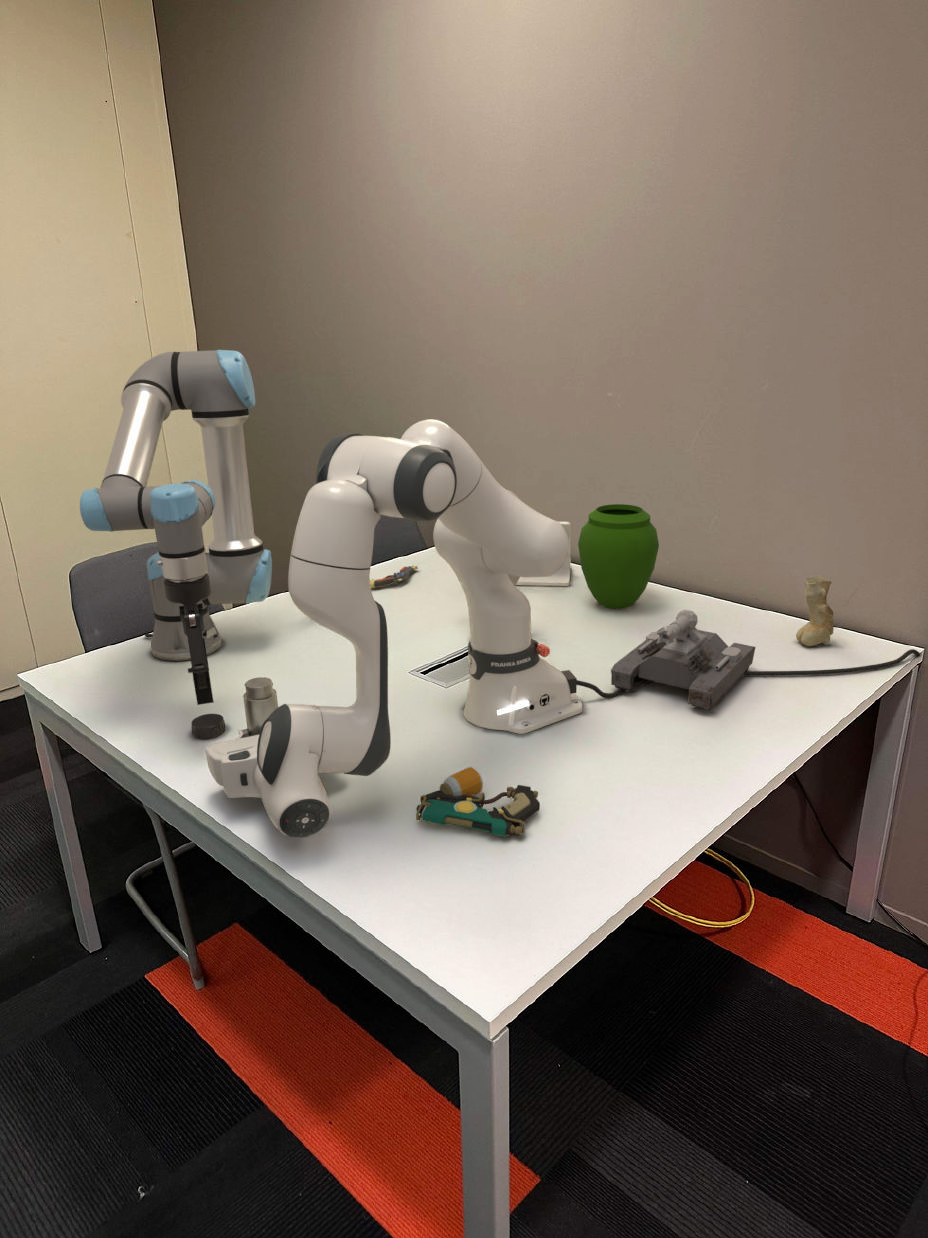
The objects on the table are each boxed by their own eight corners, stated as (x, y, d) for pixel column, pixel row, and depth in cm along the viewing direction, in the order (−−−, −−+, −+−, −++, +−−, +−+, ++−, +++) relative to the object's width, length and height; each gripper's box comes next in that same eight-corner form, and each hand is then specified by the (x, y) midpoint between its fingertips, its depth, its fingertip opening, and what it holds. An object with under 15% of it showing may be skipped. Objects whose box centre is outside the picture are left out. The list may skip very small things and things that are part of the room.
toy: (661, 649, 187) (665, 584, 181) (753, 669, 176) (760, 600, 170) (609, 692, 167) (612, 620, 162) (708, 717, 156) (715, 641, 151)
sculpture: (791, 639, 190) (799, 575, 184) (822, 637, 190) (830, 573, 185) (804, 649, 184) (812, 583, 179) (836, 647, 185) (845, 581, 180)
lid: (186, 737, 155) (184, 725, 155) (205, 722, 160) (203, 711, 160) (213, 741, 153) (211, 730, 153) (231, 726, 159) (230, 715, 158)
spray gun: (551, 809, 131) (502, 864, 119) (459, 775, 139) (405, 824, 128) (552, 786, 129) (503, 840, 118) (459, 753, 137) (405, 800, 126)
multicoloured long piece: (366, 581, 230) (401, 578, 228) (385, 565, 248) (418, 562, 246) (367, 590, 231) (403, 587, 228) (386, 574, 248) (419, 571, 246)
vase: (599, 587, 227) (601, 497, 218) (668, 600, 216) (673, 505, 208) (562, 608, 212) (564, 513, 204) (634, 623, 202) (639, 523, 193)
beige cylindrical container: (286, 756, 148) (276, 674, 142) (283, 772, 143) (273, 687, 137) (254, 759, 147) (243, 677, 142) (250, 775, 142) (239, 690, 137)
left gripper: (162, 557, 156) (180, 662, 165) (163, 603, 135) (184, 721, 143) (204, 552, 159) (220, 656, 167) (212, 596, 137) (230, 713, 145)
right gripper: (344, 734, 134) (322, 699, 146) (211, 764, 127) (199, 724, 139) (347, 769, 136) (325, 732, 148) (216, 800, 129) (204, 759, 141)
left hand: (203, 686), depth 155 cm, fingers open, 13 cm apart
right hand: (263, 729), depth 143 cm, fingers closed on beige cylindrical container, 5 cm apart
